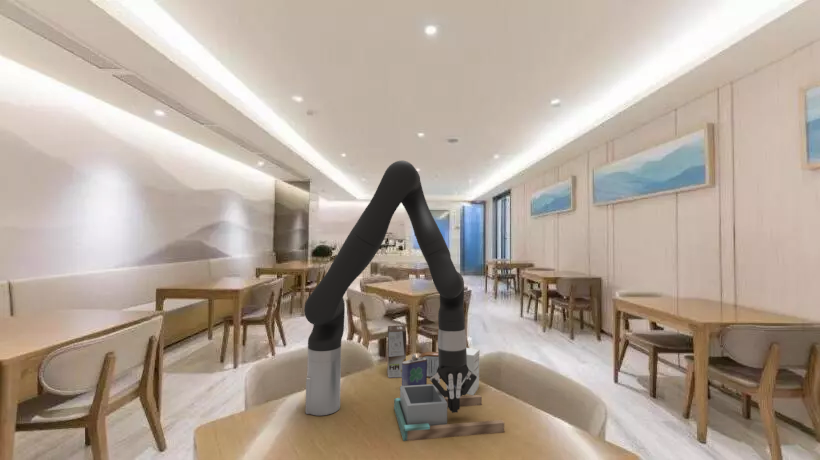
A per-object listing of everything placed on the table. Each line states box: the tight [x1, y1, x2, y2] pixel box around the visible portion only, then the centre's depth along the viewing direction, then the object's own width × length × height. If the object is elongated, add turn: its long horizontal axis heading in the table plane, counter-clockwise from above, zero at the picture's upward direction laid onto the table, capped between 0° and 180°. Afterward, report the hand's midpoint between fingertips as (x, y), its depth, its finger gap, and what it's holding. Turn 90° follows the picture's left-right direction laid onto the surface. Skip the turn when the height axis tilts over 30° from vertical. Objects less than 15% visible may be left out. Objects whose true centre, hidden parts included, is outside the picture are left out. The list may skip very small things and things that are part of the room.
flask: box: [401, 353, 428, 386], centre depth 115 cm, size 9×3×11 cm, turn 121°
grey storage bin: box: [399, 383, 448, 426], centre depth 93 cm, size 10×12×7 cm
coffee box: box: [386, 324, 407, 379], centre depth 128 cm, size 9×6×16 cm
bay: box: [393, 394, 505, 442], centre depth 94 cm, size 25×17×3 cm, turn 100°
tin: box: [417, 351, 441, 379], centre depth 124 cm, size 15×3×8 cm, turn 84°
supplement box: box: [461, 347, 480, 395], centre depth 114 cm, size 7×7×13 cm
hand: (454, 411), depth 94 cm, fingers closed
